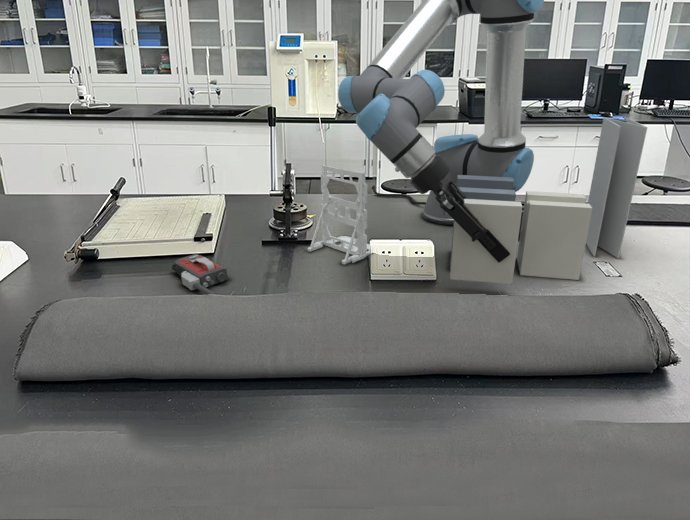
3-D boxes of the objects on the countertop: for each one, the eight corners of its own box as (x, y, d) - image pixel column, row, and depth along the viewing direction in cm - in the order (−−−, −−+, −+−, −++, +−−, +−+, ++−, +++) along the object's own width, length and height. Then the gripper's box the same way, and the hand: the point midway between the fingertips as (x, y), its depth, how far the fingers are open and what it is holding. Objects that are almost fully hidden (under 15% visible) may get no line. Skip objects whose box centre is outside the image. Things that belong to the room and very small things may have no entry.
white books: (579, 280, 113) (592, 205, 106) (520, 275, 115) (530, 202, 109) (571, 263, 121) (584, 194, 114) (516, 259, 123) (526, 190, 117)
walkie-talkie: (163, 274, 115) (212, 305, 102) (160, 256, 114) (210, 284, 100) (199, 263, 121) (250, 291, 108) (196, 245, 119) (248, 271, 106)
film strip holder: (386, 249, 129) (389, 168, 121) (347, 266, 120) (347, 179, 112) (343, 235, 138) (343, 159, 130) (304, 249, 129) (301, 168, 121)
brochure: (619, 258, 124) (647, 127, 112) (593, 256, 125) (619, 126, 113) (604, 237, 137) (628, 118, 125) (581, 236, 138) (603, 117, 126)
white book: (512, 284, 104) (522, 206, 98) (450, 279, 106) (456, 202, 100) (511, 278, 107) (521, 201, 100) (450, 273, 109) (456, 198, 103)
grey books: (505, 274, 115) (516, 189, 108) (449, 270, 118) (456, 186, 110) (503, 256, 125) (512, 177, 117) (451, 252, 127) (457, 174, 120)
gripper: (412, 170, 109) (487, 250, 112) (403, 190, 95) (489, 282, 98) (440, 145, 106) (516, 228, 109) (435, 162, 92) (523, 258, 95)
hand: (503, 254), depth 104 cm, fingers closed on white book, 3 cm apart
